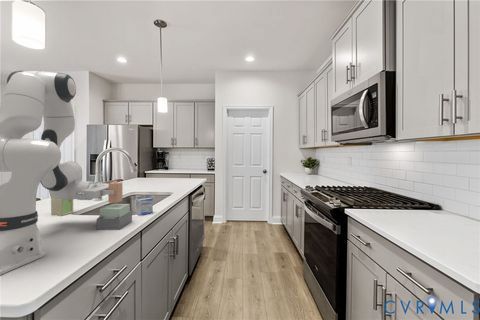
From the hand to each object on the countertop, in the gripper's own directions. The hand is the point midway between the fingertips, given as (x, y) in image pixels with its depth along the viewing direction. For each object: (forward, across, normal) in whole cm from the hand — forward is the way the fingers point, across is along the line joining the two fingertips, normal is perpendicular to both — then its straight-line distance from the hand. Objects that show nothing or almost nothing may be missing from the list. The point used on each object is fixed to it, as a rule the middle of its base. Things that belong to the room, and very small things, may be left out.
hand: (117, 191), depth 117 cm
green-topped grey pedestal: (-1, 0, +16) cm, 16 cm away
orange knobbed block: (-1, 0, +5) cm, 5 cm away
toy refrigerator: (-39, +20, +17) cm, 47 cm away
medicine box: (+5, +22, +17) cm, 28 cm away
